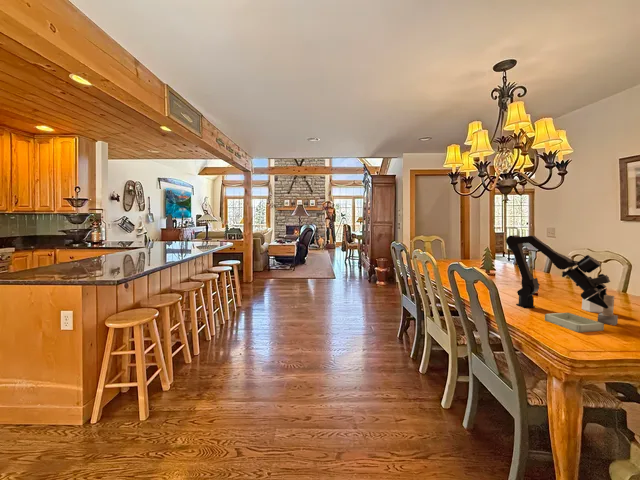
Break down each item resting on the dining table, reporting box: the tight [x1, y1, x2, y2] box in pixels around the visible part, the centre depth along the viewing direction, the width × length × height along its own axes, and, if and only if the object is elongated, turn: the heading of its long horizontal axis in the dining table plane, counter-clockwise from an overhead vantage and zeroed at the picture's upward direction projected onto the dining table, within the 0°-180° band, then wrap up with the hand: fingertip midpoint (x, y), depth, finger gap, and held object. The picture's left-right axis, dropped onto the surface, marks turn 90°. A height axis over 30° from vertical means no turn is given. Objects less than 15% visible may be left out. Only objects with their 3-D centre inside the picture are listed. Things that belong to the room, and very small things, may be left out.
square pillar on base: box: [597, 294, 619, 326], centre depth 145 cm, size 6×5×12 cm
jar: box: [581, 288, 605, 314], centre depth 164 cm, size 9×8×12 cm
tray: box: [544, 312, 605, 333], centre depth 142 cm, size 16×13×3 cm
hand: (609, 306), depth 144 cm, fingers open, 9 cm apart
